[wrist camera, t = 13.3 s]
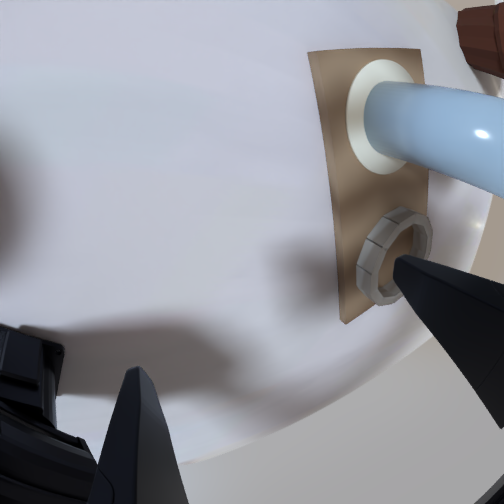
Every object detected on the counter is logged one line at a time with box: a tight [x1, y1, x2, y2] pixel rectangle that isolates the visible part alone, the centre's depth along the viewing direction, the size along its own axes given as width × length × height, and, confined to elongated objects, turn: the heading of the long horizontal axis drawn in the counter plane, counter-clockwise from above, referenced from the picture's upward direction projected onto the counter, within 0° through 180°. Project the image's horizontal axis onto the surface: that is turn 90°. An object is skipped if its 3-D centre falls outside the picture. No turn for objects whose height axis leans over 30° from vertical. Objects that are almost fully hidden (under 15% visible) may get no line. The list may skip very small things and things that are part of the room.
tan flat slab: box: [307, 48, 433, 325], centre depth 25 cm, size 26×13×3 cm, turn 15°
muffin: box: [456, 2, 504, 79], centre depth 20 cm, size 12×11×10 cm
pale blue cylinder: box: [364, 81, 504, 198], centre depth 17 cm, size 9×6×12 cm
